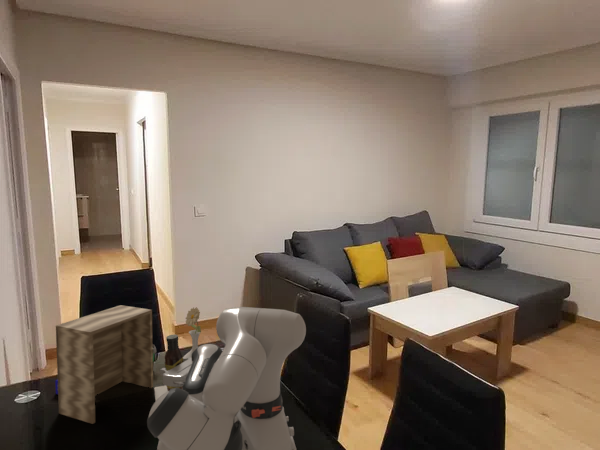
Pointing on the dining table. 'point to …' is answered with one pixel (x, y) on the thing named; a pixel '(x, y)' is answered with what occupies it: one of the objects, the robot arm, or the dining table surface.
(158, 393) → the plate
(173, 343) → the sauce bottle
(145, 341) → the cubby
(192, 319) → the flower in vase
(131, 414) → the dining table surface
